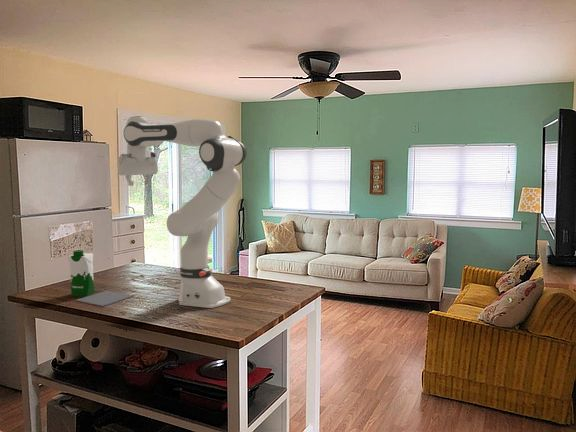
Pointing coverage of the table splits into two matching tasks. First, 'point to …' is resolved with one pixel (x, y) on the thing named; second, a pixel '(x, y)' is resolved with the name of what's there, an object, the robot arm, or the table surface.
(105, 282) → the table surface
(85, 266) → the soya milk
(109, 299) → the mat
